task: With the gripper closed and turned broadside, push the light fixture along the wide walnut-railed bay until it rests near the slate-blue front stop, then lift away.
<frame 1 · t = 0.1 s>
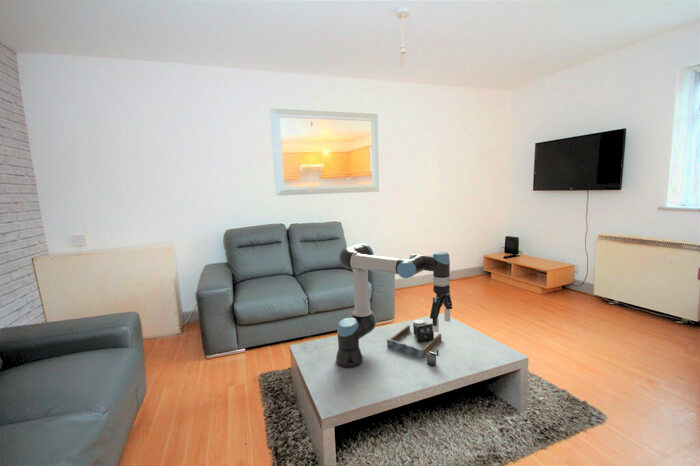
hand: (441, 326, 154), 28 cm above the table, fingers open, 13 cm apart
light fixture: (421, 338, 201), on the table
bay: (414, 343, 194), on the table
winch drum: (431, 363, 172), on the table
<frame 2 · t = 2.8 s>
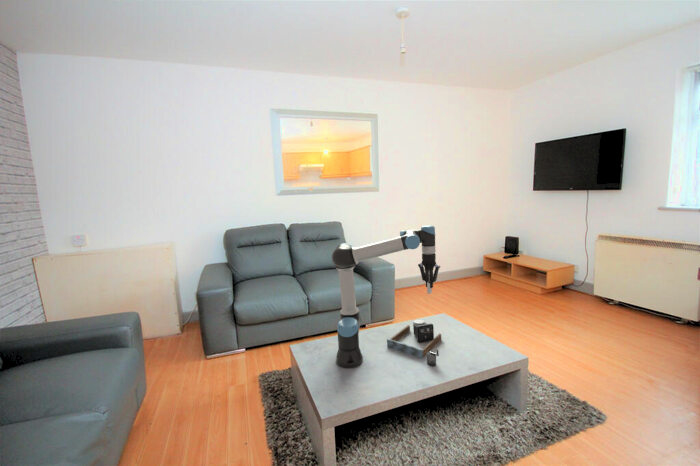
hand: (429, 292, 181), 35 cm above the table, fingers closed
nothing on the table moved.
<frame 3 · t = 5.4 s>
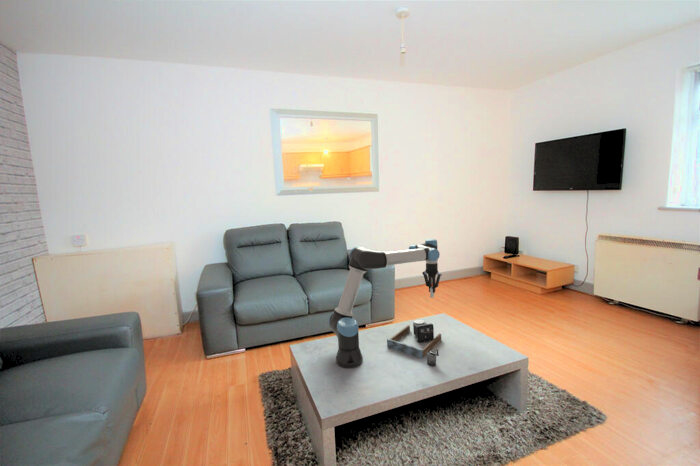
hand: (432, 296, 210), 22 cm above the table, fingers closed
nothing on the table moved.
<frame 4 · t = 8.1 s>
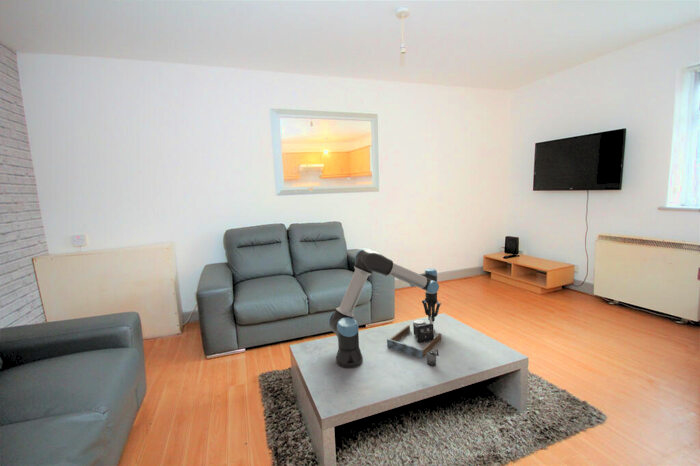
hand: (431, 325, 212), 2 cm above the table, fingers closed
nothing on the table moved.
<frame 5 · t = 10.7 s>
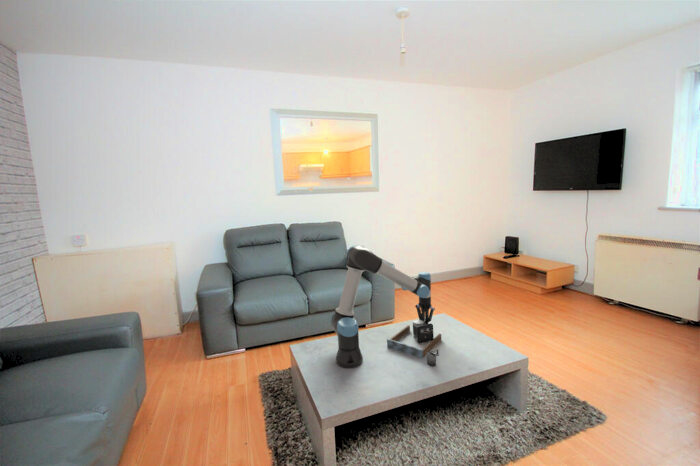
hand: (425, 330, 205), 2 cm above the table, fingers closed
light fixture: (421, 338, 201), on the table, touching gripper
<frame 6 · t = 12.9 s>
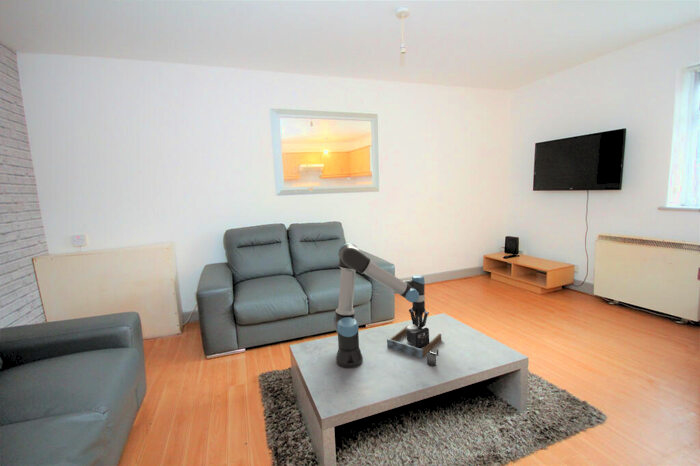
hand: (419, 335, 199), 2 cm above the table, fingers closed
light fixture: (415, 343, 194), on the table, touching gripper
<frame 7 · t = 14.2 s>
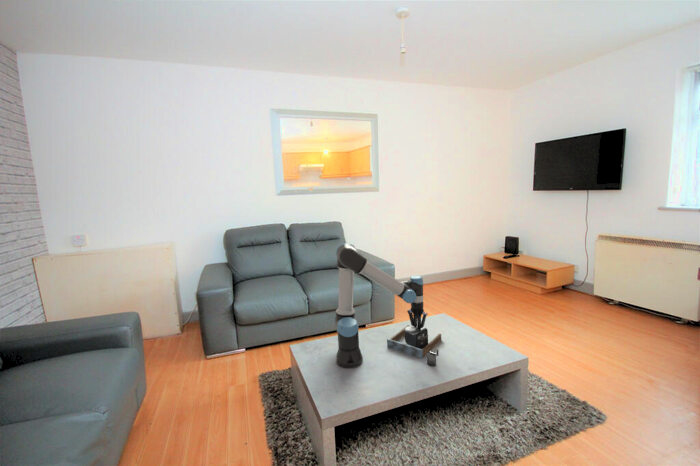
hand: (417, 337, 197), 2 cm above the table, fingers closed
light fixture: (414, 345, 193), on the table, touching gripper
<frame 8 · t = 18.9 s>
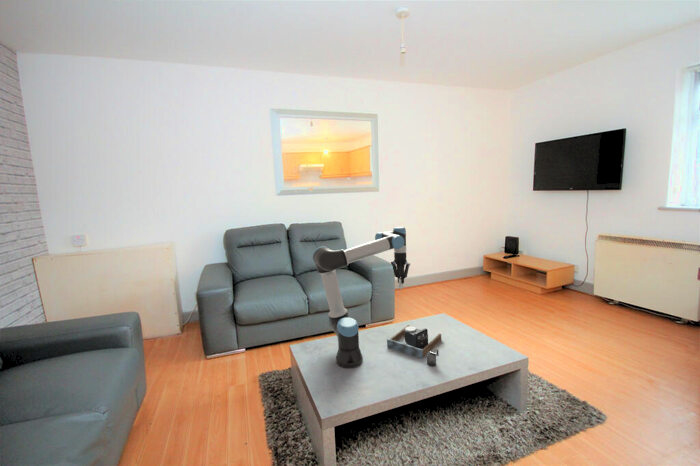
hand: (401, 288, 200), 32 cm above the table, fingers closed
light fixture: (414, 345, 193), on the table
at the end: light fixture inside the target area (3.4 cm from its centre), on the table; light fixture moved 10.8 cm from its start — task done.
